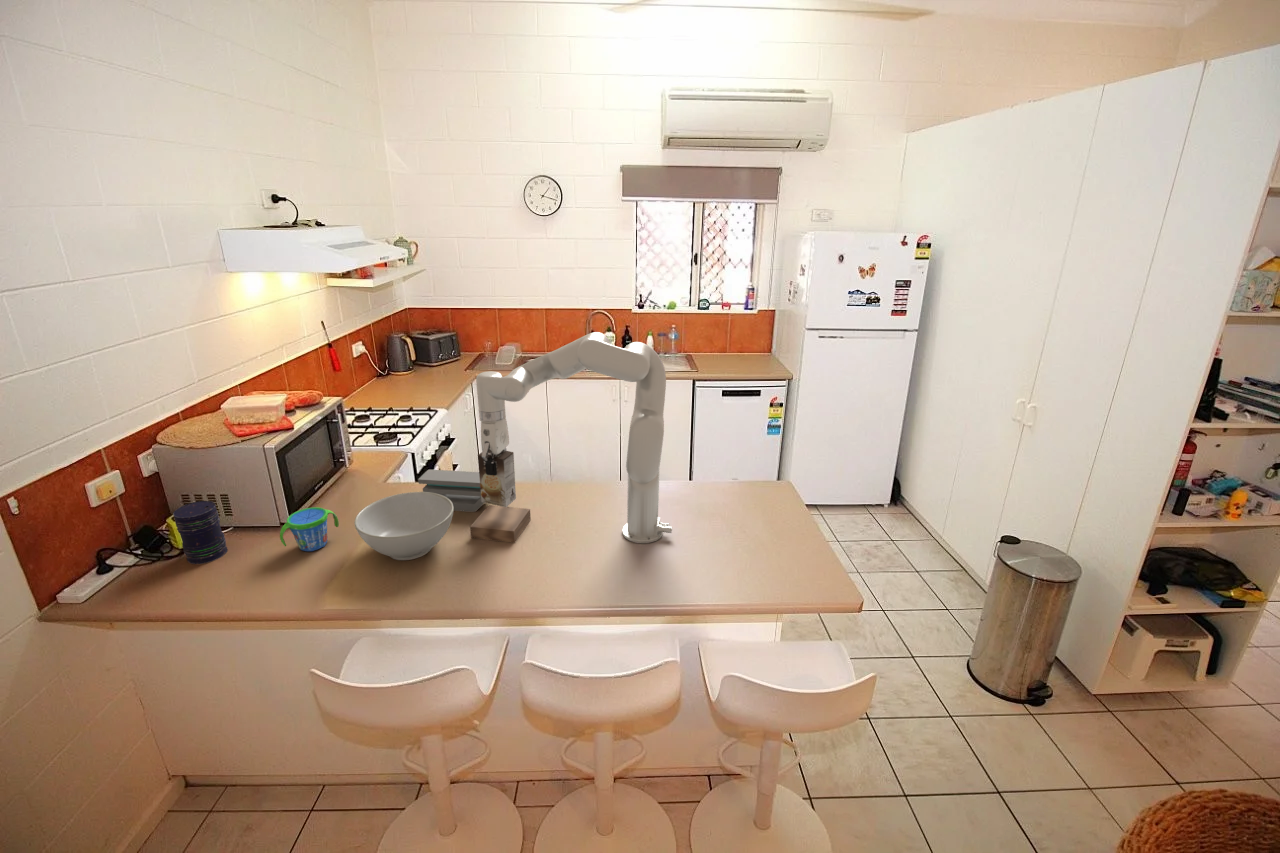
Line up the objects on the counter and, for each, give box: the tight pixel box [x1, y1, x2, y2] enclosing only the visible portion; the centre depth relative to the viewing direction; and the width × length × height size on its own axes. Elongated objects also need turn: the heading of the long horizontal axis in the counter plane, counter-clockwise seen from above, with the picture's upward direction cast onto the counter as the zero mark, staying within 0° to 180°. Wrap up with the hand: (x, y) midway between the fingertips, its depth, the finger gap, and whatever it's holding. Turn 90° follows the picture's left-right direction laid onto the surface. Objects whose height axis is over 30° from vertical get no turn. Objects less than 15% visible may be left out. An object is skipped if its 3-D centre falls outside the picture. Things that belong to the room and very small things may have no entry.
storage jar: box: [172, 500, 228, 565], centre depth 169 cm, size 10×10×15 cm
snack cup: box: [279, 506, 340, 552], centre depth 174 cm, size 16×11×10 cm
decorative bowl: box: [353, 491, 454, 561], centre depth 173 cm, size 27×27×12 cm
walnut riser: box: [469, 504, 532, 544], centre depth 186 cm, size 14×14×4 cm
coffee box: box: [477, 450, 517, 507], centre depth 180 cm, size 9×6×16 cm
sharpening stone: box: [417, 469, 485, 513], centre depth 199 cm, size 25×8×11 cm, turn 84°
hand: (496, 469), depth 179 cm, fingers closed on coffee box, 7 cm apart
